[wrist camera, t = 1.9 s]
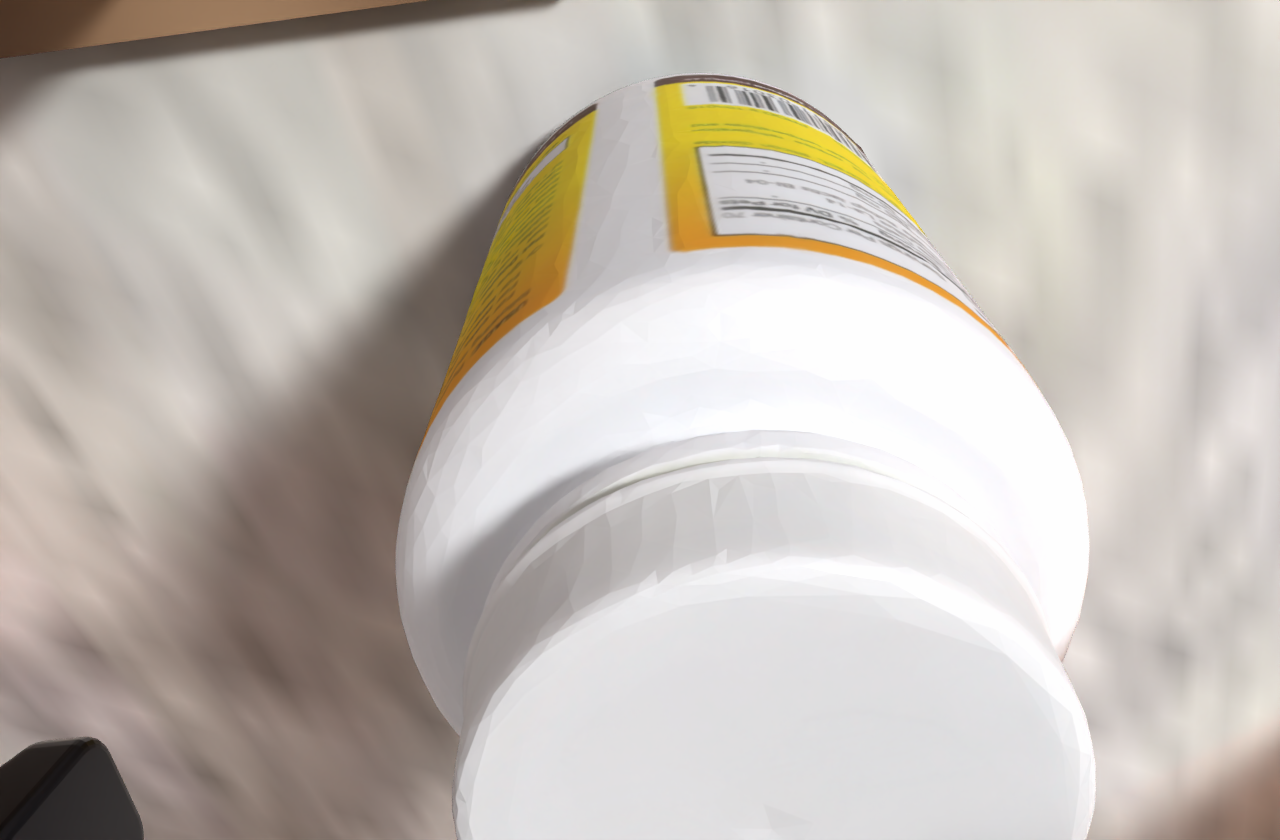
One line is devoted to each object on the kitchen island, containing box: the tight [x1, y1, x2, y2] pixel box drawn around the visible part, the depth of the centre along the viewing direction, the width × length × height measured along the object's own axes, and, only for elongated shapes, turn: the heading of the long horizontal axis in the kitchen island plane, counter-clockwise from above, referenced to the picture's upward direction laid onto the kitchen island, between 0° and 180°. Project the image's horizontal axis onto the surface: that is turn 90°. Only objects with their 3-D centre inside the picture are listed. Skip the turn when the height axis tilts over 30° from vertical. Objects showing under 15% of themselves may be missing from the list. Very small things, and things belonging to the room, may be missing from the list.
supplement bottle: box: [396, 73, 1096, 840], centre depth 11 cm, size 6×6×10 cm
